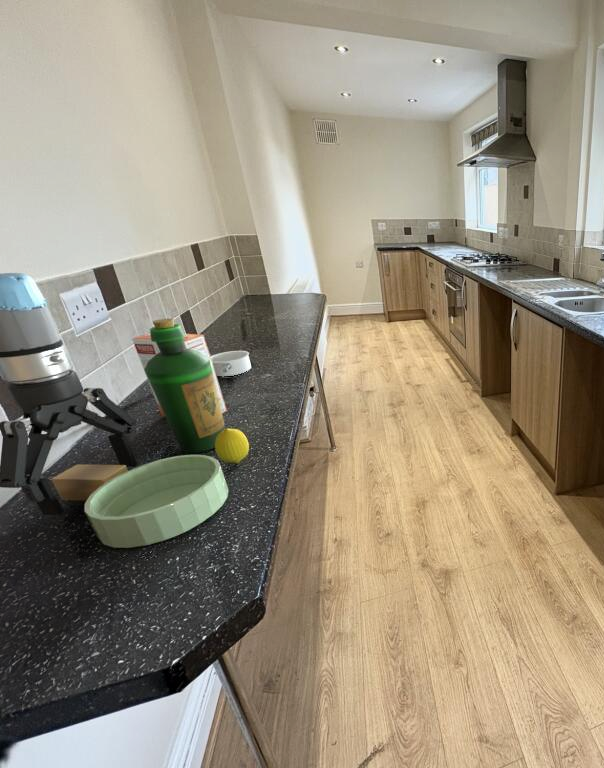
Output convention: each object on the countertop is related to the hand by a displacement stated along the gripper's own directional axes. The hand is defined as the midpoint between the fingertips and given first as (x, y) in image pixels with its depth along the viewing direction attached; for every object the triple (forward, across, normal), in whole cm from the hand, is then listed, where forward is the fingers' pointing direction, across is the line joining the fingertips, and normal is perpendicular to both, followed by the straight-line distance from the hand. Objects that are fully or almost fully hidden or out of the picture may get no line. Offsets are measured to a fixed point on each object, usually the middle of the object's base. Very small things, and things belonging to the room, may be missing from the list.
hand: (94, 487), depth 72 cm
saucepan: (+3, +59, +16) cm, 61 cm away
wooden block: (+3, 0, 0) cm, 3 cm away
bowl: (+2, -3, -15) cm, 16 cm away
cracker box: (+3, +33, +8) cm, 34 cm away
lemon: (+3, +12, -17) cm, 21 cm away
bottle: (+3, +19, -5) cm, 20 cm away
